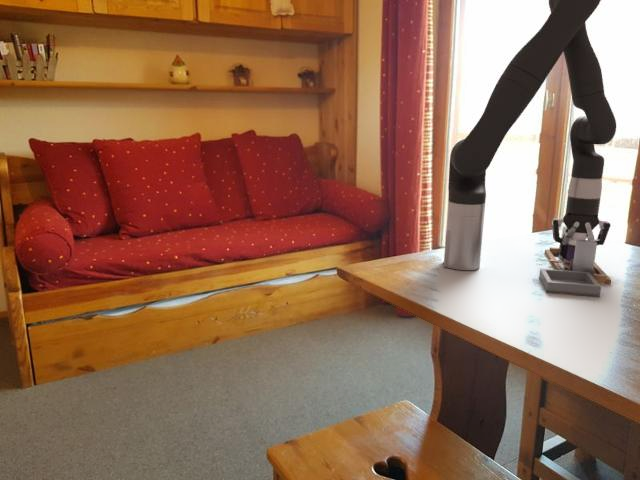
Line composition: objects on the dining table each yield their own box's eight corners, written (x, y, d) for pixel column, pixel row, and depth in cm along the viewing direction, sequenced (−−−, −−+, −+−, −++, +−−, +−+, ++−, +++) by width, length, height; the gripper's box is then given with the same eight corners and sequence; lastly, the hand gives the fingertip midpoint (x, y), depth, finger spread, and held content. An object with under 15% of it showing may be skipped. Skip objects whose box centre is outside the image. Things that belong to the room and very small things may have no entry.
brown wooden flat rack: (557, 280, 125) (559, 268, 125) (541, 253, 150) (542, 243, 149) (610, 284, 123) (612, 272, 122) (585, 256, 147) (586, 246, 146)
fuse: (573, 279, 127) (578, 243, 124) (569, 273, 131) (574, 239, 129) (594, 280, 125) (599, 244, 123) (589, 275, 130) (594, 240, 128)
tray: (546, 292, 117) (547, 282, 116) (539, 278, 127) (540, 268, 126) (599, 297, 114) (601, 286, 113) (587, 282, 124) (589, 272, 124)
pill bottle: (588, 271, 133) (593, 234, 131) (566, 269, 134) (570, 233, 132) (582, 265, 138) (587, 230, 136) (560, 264, 139) (565, 229, 137)
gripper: (556, 196, 130) (548, 260, 134) (619, 198, 126) (609, 264, 130) (551, 191, 137) (544, 253, 141) (610, 194, 133) (601, 257, 137)
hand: (575, 258), depth 136 cm, fingers closed on pill bottle, 5 cm apart
